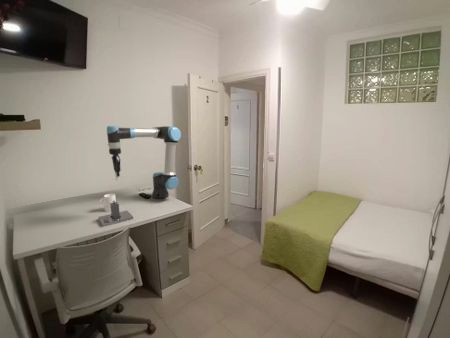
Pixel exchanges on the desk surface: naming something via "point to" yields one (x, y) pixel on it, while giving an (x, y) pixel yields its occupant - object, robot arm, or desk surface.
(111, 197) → the mug
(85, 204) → the desk surface
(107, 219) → the socket plate
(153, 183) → the robot arm
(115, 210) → the plug
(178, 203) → the desk surface
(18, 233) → the desk surface
